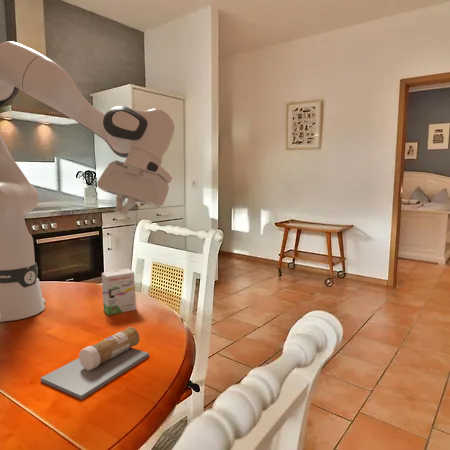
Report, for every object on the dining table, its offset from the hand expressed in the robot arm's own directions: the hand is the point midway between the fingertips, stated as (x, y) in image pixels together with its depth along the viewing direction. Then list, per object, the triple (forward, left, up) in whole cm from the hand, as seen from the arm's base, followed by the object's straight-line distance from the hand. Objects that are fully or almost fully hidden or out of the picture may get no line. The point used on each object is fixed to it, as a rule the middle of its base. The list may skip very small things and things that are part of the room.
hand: (120, 213), depth 96 cm
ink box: (-7, +7, -30) cm, 32 cm away
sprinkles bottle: (+10, -11, -27) cm, 31 cm away
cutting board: (+9, -22, -30) cm, 38 cm away
